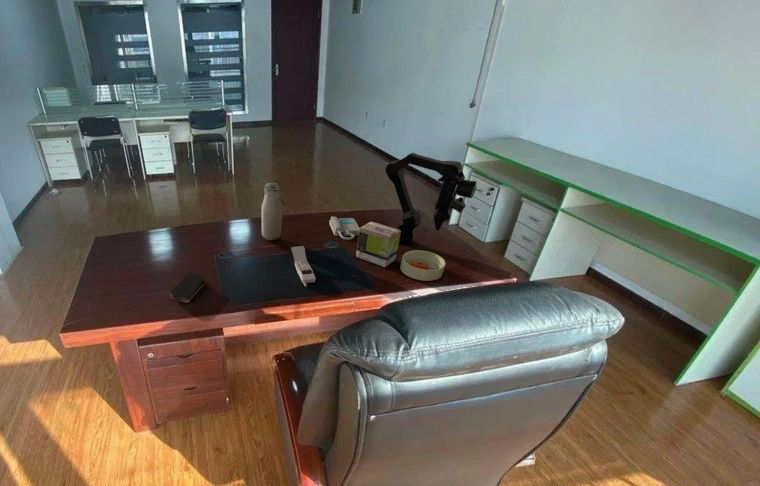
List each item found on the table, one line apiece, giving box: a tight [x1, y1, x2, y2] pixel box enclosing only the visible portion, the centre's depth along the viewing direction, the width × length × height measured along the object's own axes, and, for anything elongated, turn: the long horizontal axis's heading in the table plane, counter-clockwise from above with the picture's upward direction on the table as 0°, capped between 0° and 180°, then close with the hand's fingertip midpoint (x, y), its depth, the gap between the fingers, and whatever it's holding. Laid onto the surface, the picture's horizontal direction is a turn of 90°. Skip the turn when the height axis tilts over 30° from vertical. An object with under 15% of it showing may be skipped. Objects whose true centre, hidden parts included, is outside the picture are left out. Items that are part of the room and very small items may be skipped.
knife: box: [409, 261, 436, 270], centre depth 169 cm, size 11×3×3 cm, turn 67°
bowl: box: [399, 249, 446, 282], centre depth 168 cm, size 17×17×6 cm
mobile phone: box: [291, 245, 317, 288], centre depth 169 cm, size 6×6×25 cm
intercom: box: [329, 216, 361, 241], centre depth 200 cm, size 13×4×25 cm
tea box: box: [355, 221, 401, 268], centre depth 175 cm, size 15×10×15 cm, turn 47°
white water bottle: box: [260, 182, 283, 241], centre depth 188 cm, size 10×10×28 cm
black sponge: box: [169, 272, 206, 304], centre depth 158 cm, size 16×8×4 cm, turn 160°
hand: (437, 226), depth 179 cm, fingers open, 9 cm apart
